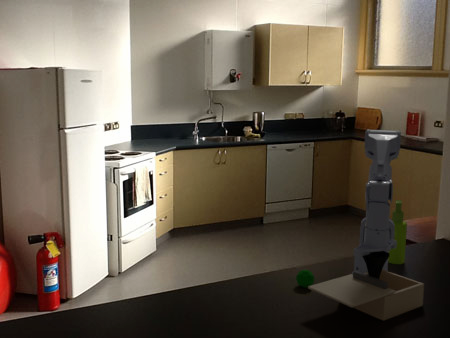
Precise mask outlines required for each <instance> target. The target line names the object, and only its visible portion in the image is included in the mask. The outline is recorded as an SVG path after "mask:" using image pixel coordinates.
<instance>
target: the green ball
mask: <svg viewBox="0 0 450 338" xmlns="http://www.w3.org/2000/svg"><path fill="white" fill-rule="evenodd" d="M295 277H296V278H295V279H296V283H297V284H298V286H300V287H301V288H303V289H306V288H307V289H308V286H312V285H314V282H315V275H314V274H313V272H312V271H311V270H308V269H302V270H299V271H298V273H296V276H295Z"/></svg>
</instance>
